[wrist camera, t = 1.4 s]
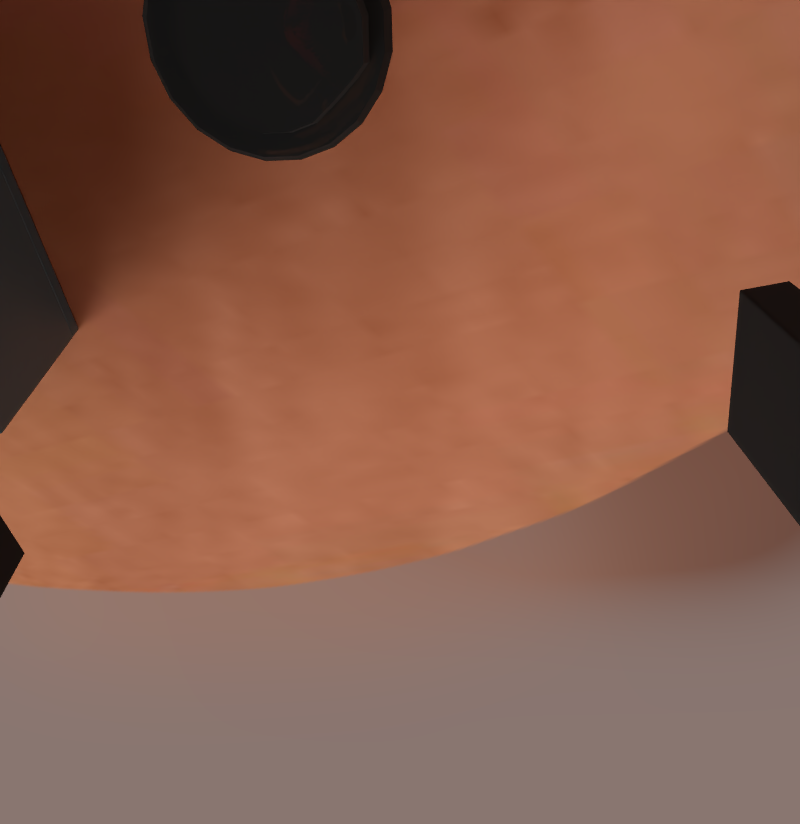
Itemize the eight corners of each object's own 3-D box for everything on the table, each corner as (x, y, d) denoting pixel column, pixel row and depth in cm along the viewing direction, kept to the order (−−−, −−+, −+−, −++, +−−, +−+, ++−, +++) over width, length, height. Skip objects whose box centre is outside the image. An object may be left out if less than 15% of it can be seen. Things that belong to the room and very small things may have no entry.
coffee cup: (231, 127, 29) (182, 195, 21) (171, -75, 26) (82, -91, 17) (398, 92, 29) (416, 147, 21) (362, -118, 25) (366, -155, 17)
